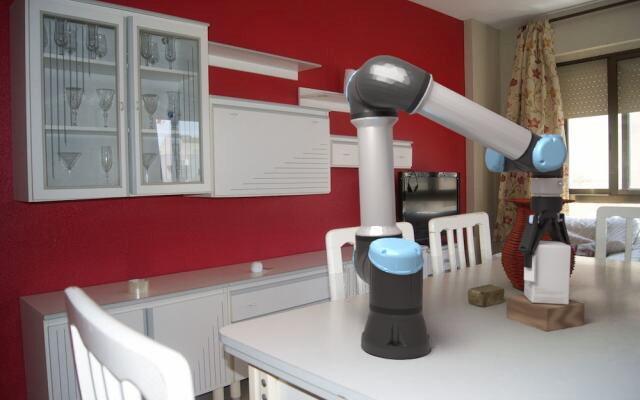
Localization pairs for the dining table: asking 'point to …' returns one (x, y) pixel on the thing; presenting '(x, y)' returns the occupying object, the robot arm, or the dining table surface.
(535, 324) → the walnut base block
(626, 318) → the dining table surface
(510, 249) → the vase
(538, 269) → the supplement box
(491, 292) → the stone block
